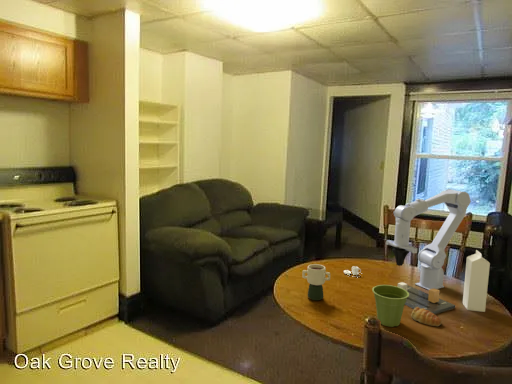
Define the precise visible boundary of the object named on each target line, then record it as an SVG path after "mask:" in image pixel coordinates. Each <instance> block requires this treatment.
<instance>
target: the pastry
mask: <svg viewBox="0 0 512 384" xmlns="http://www.w3.org/2000/svg"><path fill="white" fill-rule="evenodd" d="M410 315H411V316H410V317H411V318H412V320H414V321H415V322H418V323H420V324H424V325H428V326H431V327H439V326H441V325H442V322H443V320H442V319H441V318H440V317H439V316H438V315H437V314H434V313H431V312H430V311H429V310H425V309H424V308H422V309H421V308H419V307H416V308H414V309H412V312H411V314H410Z"/></svg>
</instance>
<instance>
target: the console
mask: <svg viewBox="0 0 512 384" xmlns="http://www.w3.org/2000/svg"><path fill="white" fill-rule="evenodd" d="M407 292H408V293H409V296H408V297H407V299H406V303H405V305H404V306H407V307H409V308H411V309H412V310H414V308H416V307H419V308H421V309H422V308H424V309H425V310H429V311H430V312H431V313H434V314H435V315H437V314H441V313H443V312H447V311H450V310H453V309H456V304H453V303H451V302H448V301H446V300H444V299H442V298H439V302H435V303H432V302H430V301H428V296H429V293H427V292H426V291H422V290H420V289H418V288H415V287H413V286H411V285H408V288H407Z"/></svg>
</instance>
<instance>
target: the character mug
mask: <svg viewBox="0 0 512 384" xmlns="http://www.w3.org/2000/svg"><path fill="white" fill-rule="evenodd" d="M326 270H327V269H326V266H325V265H322V264H317V263H313V264H309V265H308V266H307V270H306V269H303V270H302V274H301V275H302V278H303V279H306V280H307V283H308V284H309V285H308V290H307V298H308V299H310V300H313V301H321V300H323V299H324V297H325V296H324V286H323V285H324V284H325V282H326V281H330V280H331V272H328V271H326ZM306 274H307V275H306ZM326 275H327V277H326Z"/></svg>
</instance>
